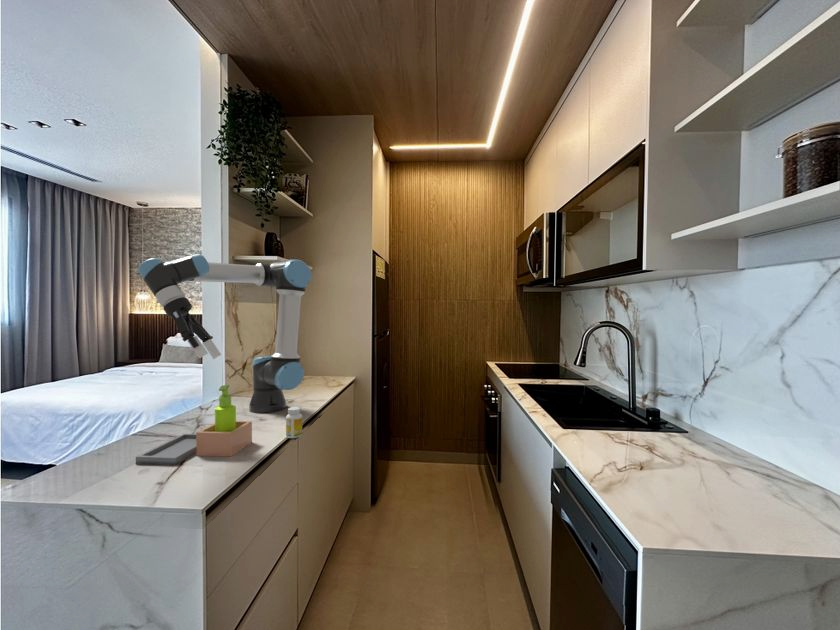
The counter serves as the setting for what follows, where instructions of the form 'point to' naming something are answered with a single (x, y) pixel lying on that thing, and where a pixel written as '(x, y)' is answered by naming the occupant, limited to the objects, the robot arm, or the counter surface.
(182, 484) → the counter surface
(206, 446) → the terracotta open box
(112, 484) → the counter surface
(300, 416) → the supplement bottle
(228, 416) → the soap dispenser
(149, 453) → the grey tray
